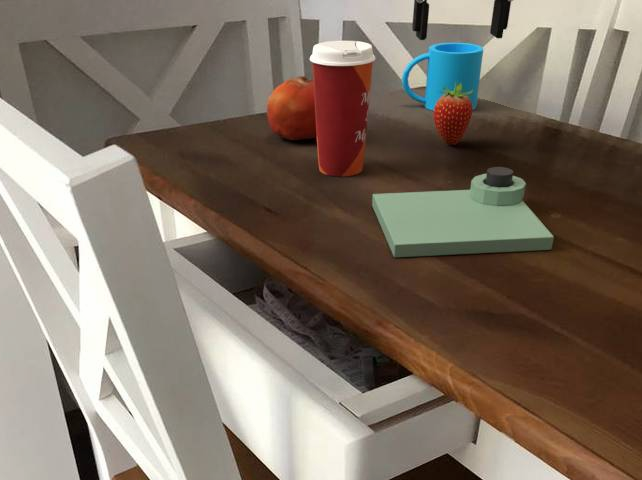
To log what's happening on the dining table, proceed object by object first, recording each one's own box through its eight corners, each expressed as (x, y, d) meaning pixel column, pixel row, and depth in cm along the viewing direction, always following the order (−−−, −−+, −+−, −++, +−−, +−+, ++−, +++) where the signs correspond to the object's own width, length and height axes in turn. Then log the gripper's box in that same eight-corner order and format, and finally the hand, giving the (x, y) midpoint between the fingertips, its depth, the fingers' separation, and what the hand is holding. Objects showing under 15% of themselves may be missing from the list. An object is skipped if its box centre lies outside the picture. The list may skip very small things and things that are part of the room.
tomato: (254, 138, 104) (251, 77, 99) (299, 124, 109) (298, 65, 104) (301, 152, 99) (300, 87, 94) (346, 137, 104) (347, 75, 99)
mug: (472, 99, 119) (478, 42, 114) (480, 112, 113) (487, 53, 108) (398, 99, 120) (401, 43, 115) (402, 113, 113) (405, 54, 108)
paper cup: (379, 175, 91) (386, 49, 83) (321, 182, 90) (320, 54, 81) (358, 156, 97) (362, 37, 88) (303, 162, 96) (301, 41, 87)
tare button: (506, 180, 82) (508, 166, 81) (514, 189, 80) (516, 174, 79) (482, 181, 82) (484, 167, 81) (489, 190, 80) (491, 175, 79)
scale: (511, 198, 85) (516, 172, 83) (554, 249, 74) (561, 220, 72) (371, 204, 84) (372, 178, 82) (393, 257, 73) (395, 228, 71)
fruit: (472, 150, 99) (480, 85, 94) (433, 151, 98) (440, 86, 93) (464, 138, 103) (471, 76, 98) (427, 139, 103) (432, 77, 98)
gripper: (542, -138, 85) (516, 30, 96) (395, -137, 84) (385, 32, 95) (565, -137, 79) (535, 41, 90) (408, -136, 78) (396, 45, 89)
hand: (458, 37), depth 93 cm, fingers open, 9 cm apart
